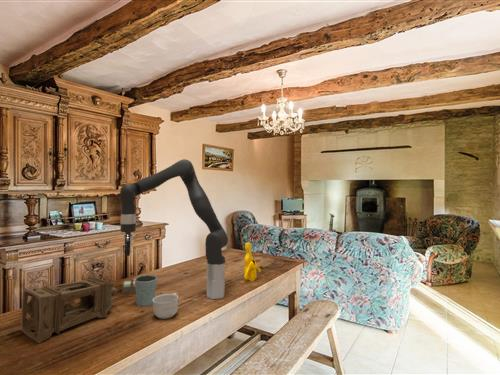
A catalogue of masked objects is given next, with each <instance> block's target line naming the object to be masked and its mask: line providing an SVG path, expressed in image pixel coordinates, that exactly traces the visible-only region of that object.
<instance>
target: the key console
mask: <svg viewBox="0 0 500 375" xmlns="http://www.w3.org/2000/svg"><path fill="white" fill-rule="evenodd" d="M135 278H136V277H133V279H126V280H123V281H122V285H121V286H122V287H121V294H129V293H131V294H132V293H136V288H135V286H133V281H135ZM125 281H131V287H124V282H125Z"/></svg>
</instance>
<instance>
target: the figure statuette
mask: <svg viewBox="0 0 500 375" xmlns="http://www.w3.org/2000/svg"><path fill="white" fill-rule="evenodd" d="M244 249H245V256H244V260H243V262H244V263H243V264H244V271H243V276H244V277H243V278H244V280H246V281H250V282H254V281H256V280H257V272H258V273H260V272H262V270H261V268H260V267H259V265H258V264H257V261H256V260H255V259H254V257H253V254H252V242H245V244H244Z"/></svg>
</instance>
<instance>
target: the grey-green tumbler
mask: <svg viewBox="0 0 500 375" xmlns="http://www.w3.org/2000/svg"><path fill="white" fill-rule="evenodd" d="M134 278H135V288H136V292H135V295H136V296H135V304H136V305H137V306H138V307H149V306H151V305H152V306H153V301H152V300H153V298H155V297H156V292H157V291H156V290H157V282H158V277H157V275H154V274H143V275H139V276H136V277H134Z"/></svg>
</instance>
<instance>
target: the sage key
mask: <svg viewBox="0 0 500 375" xmlns="http://www.w3.org/2000/svg"><path fill="white" fill-rule="evenodd" d="M124 287H131V281H125V282H124Z"/></svg>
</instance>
